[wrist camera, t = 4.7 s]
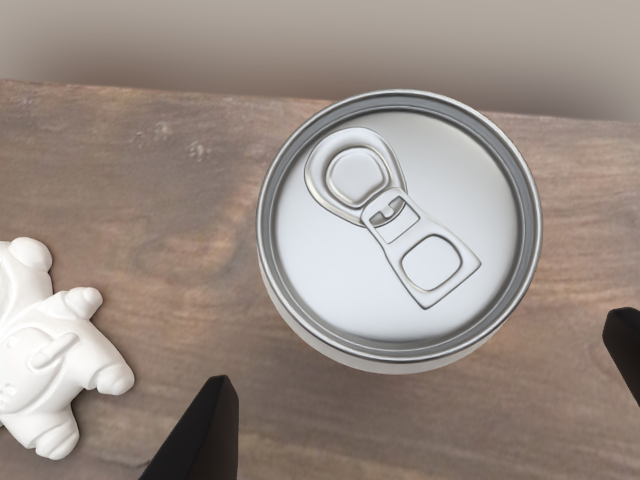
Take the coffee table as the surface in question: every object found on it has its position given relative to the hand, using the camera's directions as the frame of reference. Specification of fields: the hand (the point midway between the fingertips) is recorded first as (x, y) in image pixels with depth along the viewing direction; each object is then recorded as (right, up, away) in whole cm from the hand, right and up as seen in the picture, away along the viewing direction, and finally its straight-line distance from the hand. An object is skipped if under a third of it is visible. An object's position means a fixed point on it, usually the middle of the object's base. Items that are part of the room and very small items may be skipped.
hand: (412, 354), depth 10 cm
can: (+1, +1, +10) cm, 10 cm away
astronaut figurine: (-17, -3, +12) cm, 21 cm away
